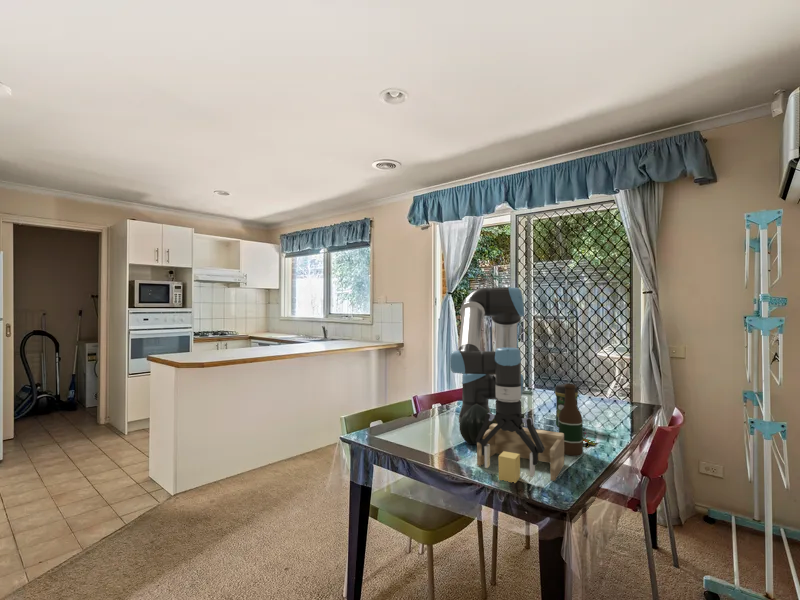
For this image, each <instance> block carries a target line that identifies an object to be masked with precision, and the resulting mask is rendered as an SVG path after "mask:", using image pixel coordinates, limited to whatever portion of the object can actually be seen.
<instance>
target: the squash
mask: <svg viewBox="0 0 800 600" xmlns="http://www.w3.org/2000/svg"><path fill="white" fill-rule="evenodd" d="M487 413H489V411H488V410H486V409H485V408H483V407H482V406H480V405H478V404H475V405H473V406H472V407H471V408H470V409H469V410H468V411H467V412H466V413H465V414H464V415H463V416H462V418H461V420H460V422H459V431H460V435H461V437H462V439H464V442H465V443H466V444H469V445H477V442H476V441H475V440H476V438H477V436H478V434H479V432H480V430H481V428H482V426H483V424H484V422H485V415H486V414H487ZM490 413H492V412H491V411H490ZM493 423H494V424H497V422H496V421H495V419H493V420H492V421H491V422H490V424H489V426H490V425H491V424H493ZM489 426H488V428H487V430H488V429H489ZM487 430H486V431H487Z"/></svg>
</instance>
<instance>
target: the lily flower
mask: <svg viewBox="0 0 800 600" xmlns="http://www.w3.org/2000/svg"><path fill="white" fill-rule="evenodd" d="M586 434H587V432H584V433H583V441H585V442H587V443H588V446H587V447H585V445H584V446H583V448H584V447H585V448H588V447H590V445H591V446H594V445H596V443H593V442H595V441H593V440H591V439H588V435H586ZM585 435H586V437H585ZM589 441H591V442H589ZM585 442H584V443H585Z"/></svg>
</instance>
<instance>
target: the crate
mask: <svg viewBox="0 0 800 600" xmlns="http://www.w3.org/2000/svg"><path fill="white" fill-rule="evenodd" d="M496 425H497V424H494V423H493V424H491V425H490V426H489V429H488V430H487V431H486V432H485V434H484V436H483V438H482V439H485V438H486V437H487V435H488V434H489V433H490V432H491V431H492V430H493V429H494V428H495V427H496ZM522 428H523V429H524V431H525V433H526V434H527V435H528V436H529V438H530V439H531V440H532V442H533V443H534V440H533V438H532V436H531V434H530V432H529V430H528V427H523V426H522ZM535 429H536V428H535ZM536 431H537V433H538V435H539V438H540V440H541V442H542V444H543V446H544V448H545V450H544V451H543V453H538V462H543V463H549V465H550V466H549V467H550V468H549V469H550V472H549V473H550V475H549V477H550V481H553V482H555V481H556V479H557V478H558V476H559V474H560V472H561V471H562V469H563V468H564V465H565V454H564V433H559V431H558V432H557V431H549V430H544V429H536ZM487 444H490V459H491V458H492V457H493V456H494V455H495V454H498V455H500V454H501V453H502V452H503V451H505V452H511V453H517V454H520V459H521V458H522V459H525V460H527V459H528V460H530V453H531V450H530V449H529V448H528V446H527V445H526V444H525V442H524V441H523V440H522V438H521V437H520V436H519V435H518V434H517V433H516V432H515V431H514V432H510V431H503V430H502V429H501V428H500V429H499V430H498V432H497V433H496V434H495V435H494V436H493V437H492V438H491V439H490V440H489V441H488V443H487ZM534 444H535V443H534ZM535 446H536V445H535ZM477 465H479V466H478V467H482V466H483V465H485V456H483V455H482V445H481V444H480V443H477V444H476V466H477ZM481 465H482V466H481Z"/></svg>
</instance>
